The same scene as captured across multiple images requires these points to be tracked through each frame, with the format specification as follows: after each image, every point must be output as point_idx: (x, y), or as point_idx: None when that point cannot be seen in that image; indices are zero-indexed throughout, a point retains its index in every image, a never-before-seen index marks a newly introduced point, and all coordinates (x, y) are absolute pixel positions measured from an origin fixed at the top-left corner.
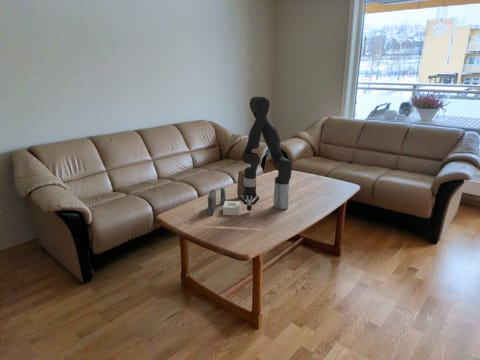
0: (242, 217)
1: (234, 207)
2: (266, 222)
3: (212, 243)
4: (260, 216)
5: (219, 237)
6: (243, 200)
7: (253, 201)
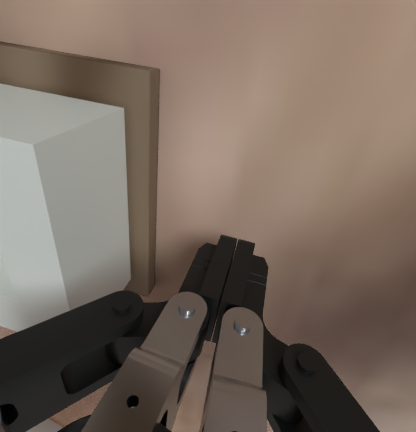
0: (170, 271)
1: (21, 329)
2: (376, 391)
3: (62, 424)
4: (369, 292)
5: (74, 408)
6: (56, 408)
7: (297, 400)
